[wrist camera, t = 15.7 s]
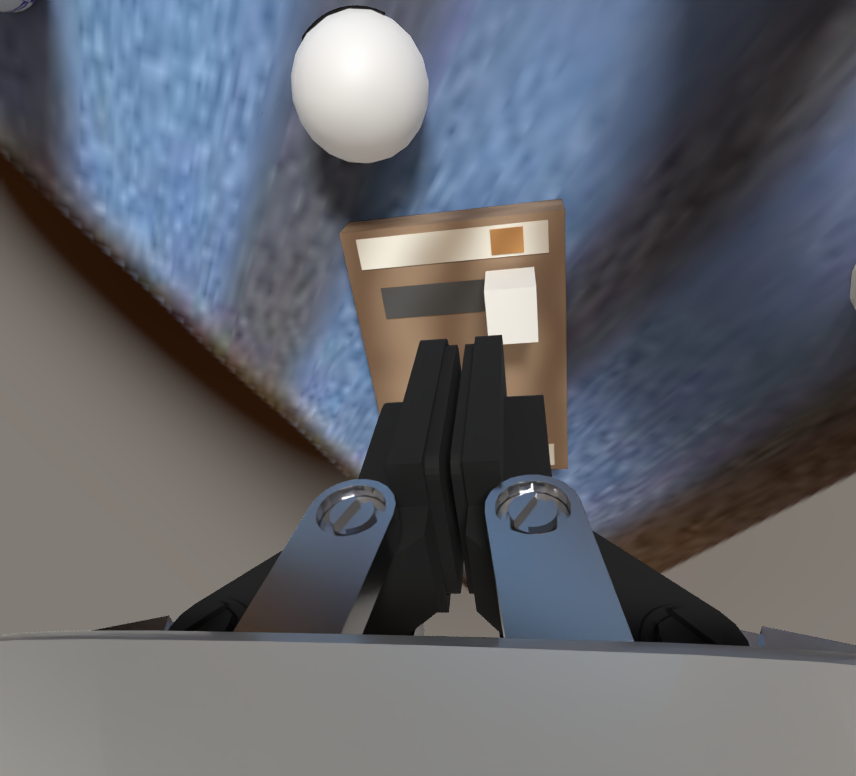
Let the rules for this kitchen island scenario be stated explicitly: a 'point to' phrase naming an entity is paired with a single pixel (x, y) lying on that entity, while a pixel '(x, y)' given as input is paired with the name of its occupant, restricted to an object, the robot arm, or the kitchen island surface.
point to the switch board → (461, 295)
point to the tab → (512, 304)
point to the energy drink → (15, 5)
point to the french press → (853, 287)
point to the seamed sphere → (359, 84)
